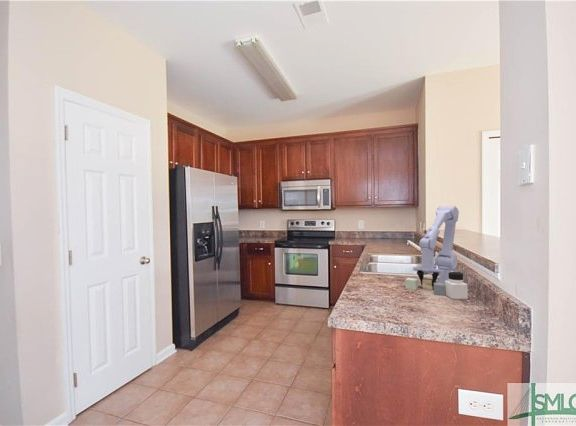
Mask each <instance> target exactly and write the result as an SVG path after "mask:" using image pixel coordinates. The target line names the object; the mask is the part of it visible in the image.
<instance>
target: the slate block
mask: <svg viewBox="0 0 576 426" xmlns="http://www.w3.org/2000/svg"><path fill="white" fill-rule="evenodd" d="M433 294H434V295H435V296H446V295H445V285H444V283H438V282H435V283H434V288H433Z"/></svg>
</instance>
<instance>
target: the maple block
mask: <svg viewBox="0 0 576 426" xmlns="http://www.w3.org/2000/svg"><path fill="white" fill-rule="evenodd" d="M432 283H433V279H432V278H429V277H424V279H422V285H421V286H422V290H423V289H424V290H429V291H430V290H431V291H432V290H434V287H433V286H432Z"/></svg>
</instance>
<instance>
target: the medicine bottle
mask: <svg viewBox="0 0 576 426" xmlns="http://www.w3.org/2000/svg"><path fill="white" fill-rule="evenodd" d="M468 291H469V286H468V283H466V282H464V273H463V272H460V271H455V270H454V271H452V272H449V281H445V296H446V297H449V298H450V299H452V300H468V298H469V292H468Z"/></svg>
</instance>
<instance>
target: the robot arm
mask: <svg viewBox="0 0 576 426" xmlns="http://www.w3.org/2000/svg"><path fill="white" fill-rule="evenodd" d="M459 214H460V211H459V209H458V208H457V206H456V205H453V206H438V207H437V208H436V211H435V216H436V217H435V219H434V222H433V224H432V226H430V227H428V230H427V231H426V233H425V235H424V237H423V238H421V239H419V243H418V245H419V248H420V251H421V267H420V266H413V267H412V271H413V272H416V274H417V276H418V278H419V280H420V285H421V286H422V279H424V278H425V277H424V276H425V275H424V274H425V273H431V276H432V277H431V279H433V283H432V286H433V287H434V283H444V285H445V281H449V272H452V271H455V269H456V268H457V266H458V255H456V253H455V252H453V250H454V249H453V248H454V241H455V233H456V232H455V231H456V225H457V222H458V221H459ZM443 223H444V224H445V225H444V232H443V238H442V239H443V241H442V247H441V250H440V251H439V252H437V254H436V257H435V260H434V254H435V253H434V249H435V248H436V246H437V239H438V237H439V235H440V232H441V231H440V228H441V226H442V225H443ZM434 261H435V264H434ZM435 265H436V266H437V268H435ZM437 279H438V280H439V281H438V282H437Z"/></svg>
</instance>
